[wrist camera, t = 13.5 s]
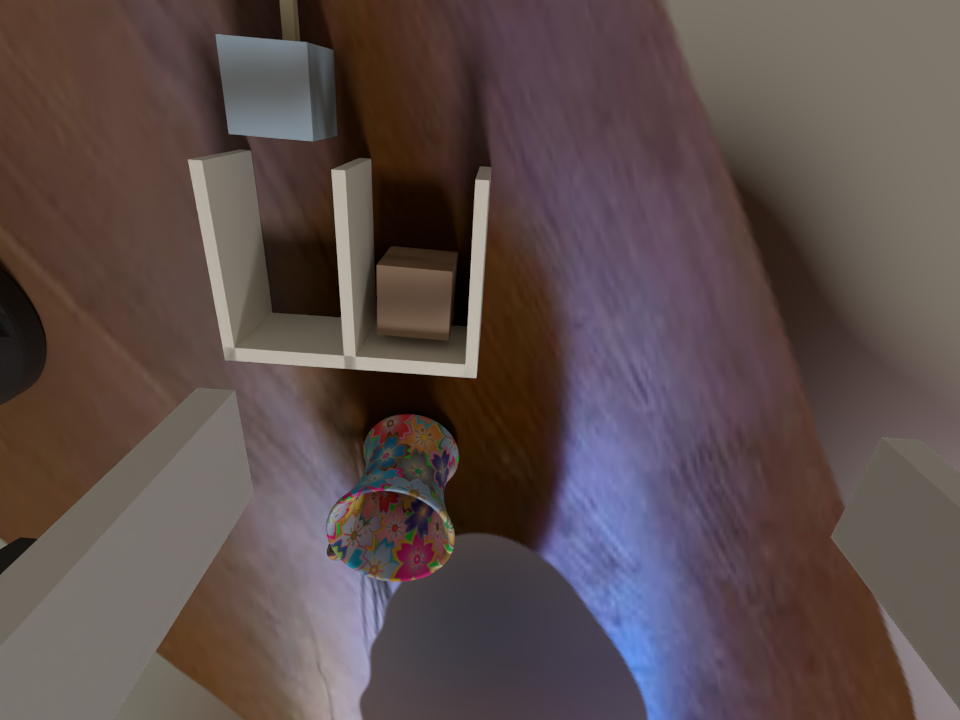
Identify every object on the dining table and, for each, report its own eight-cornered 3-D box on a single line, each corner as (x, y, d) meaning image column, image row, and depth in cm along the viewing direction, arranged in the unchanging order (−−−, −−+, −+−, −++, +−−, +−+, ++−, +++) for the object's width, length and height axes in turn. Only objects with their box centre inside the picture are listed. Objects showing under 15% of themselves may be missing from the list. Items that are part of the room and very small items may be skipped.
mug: (418, 385, 43) (394, 465, 34) (484, 457, 47) (480, 548, 37) (319, 453, 47) (273, 542, 38) (387, 515, 50) (361, 612, 41)
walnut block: (454, 314, 40) (448, 340, 36) (391, 308, 40) (377, 334, 36) (458, 251, 38) (452, 271, 34) (391, 245, 38) (376, 264, 34)
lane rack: (480, 338, 41) (476, 378, 35) (264, 323, 41) (225, 360, 35) (491, 167, 35) (489, 180, 29) (239, 149, 35) (187, 159, 30)
